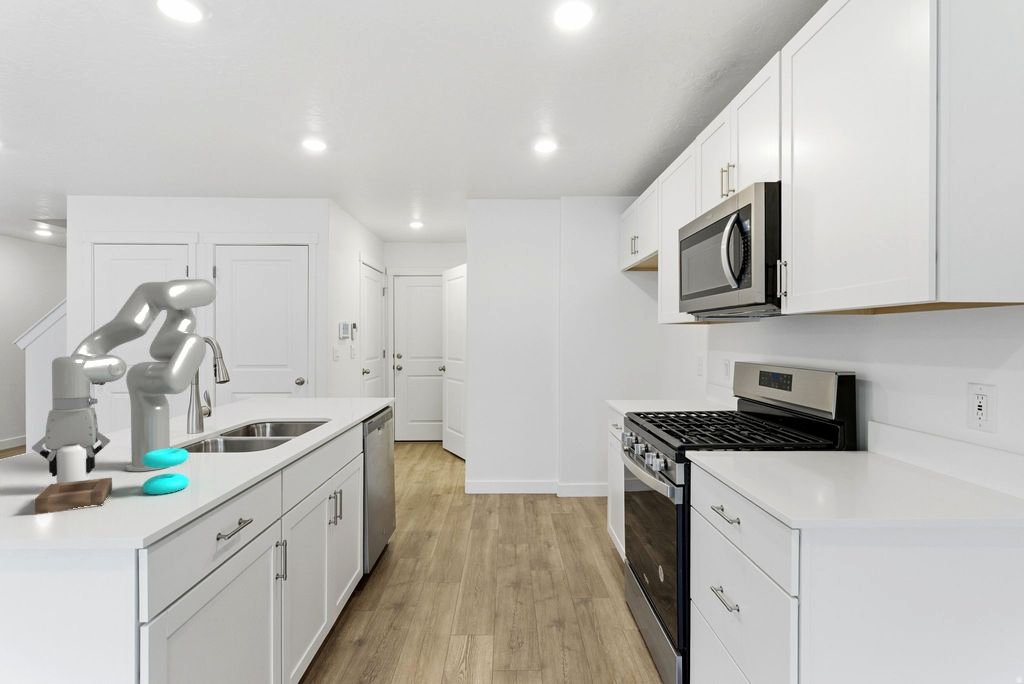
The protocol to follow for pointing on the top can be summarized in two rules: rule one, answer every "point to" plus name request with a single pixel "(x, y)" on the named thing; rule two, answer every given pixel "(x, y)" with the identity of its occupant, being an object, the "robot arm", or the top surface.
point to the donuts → (165, 481)
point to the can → (71, 464)
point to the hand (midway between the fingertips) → (72, 472)
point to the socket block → (73, 495)
